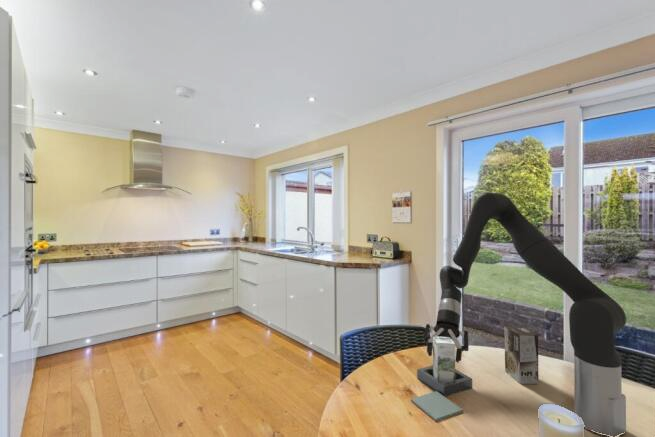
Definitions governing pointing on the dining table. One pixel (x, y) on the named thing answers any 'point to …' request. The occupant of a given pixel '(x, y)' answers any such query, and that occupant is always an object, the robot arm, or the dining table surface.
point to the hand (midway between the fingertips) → (443, 358)
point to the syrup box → (443, 359)
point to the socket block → (444, 389)
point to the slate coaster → (436, 405)
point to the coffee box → (521, 354)
